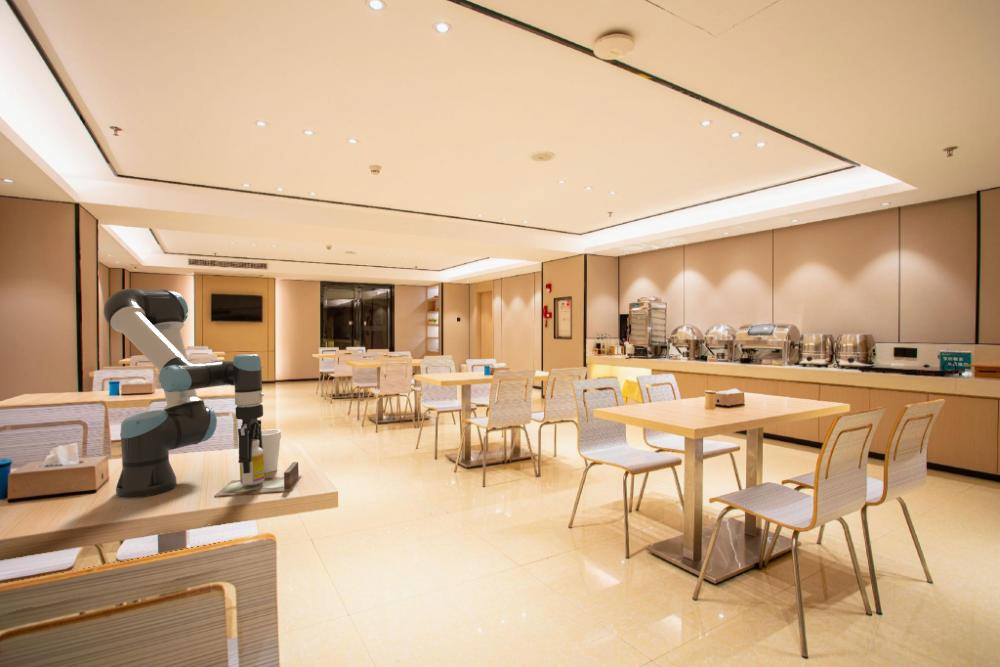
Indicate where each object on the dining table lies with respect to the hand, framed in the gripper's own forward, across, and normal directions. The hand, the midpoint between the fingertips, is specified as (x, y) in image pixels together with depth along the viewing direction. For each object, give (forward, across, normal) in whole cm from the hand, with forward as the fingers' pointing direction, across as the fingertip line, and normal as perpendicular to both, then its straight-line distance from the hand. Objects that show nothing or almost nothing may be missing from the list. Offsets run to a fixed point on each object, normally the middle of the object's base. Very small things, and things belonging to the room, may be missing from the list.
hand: (252, 479), depth 152 cm
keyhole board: (+2, 0, -2) cm, 3 cm away
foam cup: (+3, +18, +1) cm, 18 cm away
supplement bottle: (+1, 0, 0) cm, 1 cm away
